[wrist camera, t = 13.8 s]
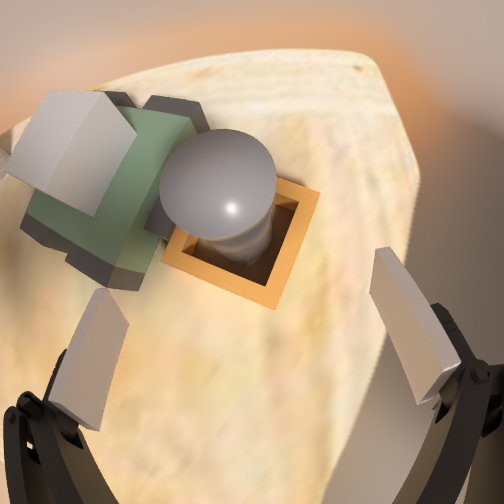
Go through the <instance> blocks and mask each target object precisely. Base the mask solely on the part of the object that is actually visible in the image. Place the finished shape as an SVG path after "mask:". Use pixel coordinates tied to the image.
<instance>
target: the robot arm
mask: <svg viewBox="0 0 504 504" xmlns="http://www.w3.org/2000/svg"><path fill="white" fill-rule="evenodd" d="M369 293H370V295H371V297H372V299H373V301H374V303H375V305H376V307H377V309H378V311H379V314H380V316H381V318H382V320H383V322H384V324H385V327H386V329H387V331H388V333H389V335H390V337H391V340H392V342H393V345H394V347H395V349H396V352H397V354H398V356H399V358H400V361H401V363H402V366H403V368H404V371H405V373H406V376H407V378H408V381H409V383H410V386H411V389H412V391H413V394H414V397H415V399H416V402H417V405H418V404H421V403H423V402H426V401H428V400H430V399H433V398H434V397H435V396H436V394H437V393H438V392H439V394H440V396H441V398H440V399H439V400H438V402H437V403H436V404H435V405H434V407H433V408H432V409H433V410H435V408H436V407H437V409H436V412H435V414H434V417H433V420H432V423H431V425H430V428H429V431H428V433H427V435H426V438H425V440H424V443H423V445H422V448H421V450H420V452H419V454H418V456H417V459H416V461H415V463H414V465H413V467H412V469H411V471H410V473H409V475H408V477H407V478H406V480H405V482H404V484H403V486H402V488H401V490H400V491H399V493H398V495H397V496H396V498H395V500H394V502H393V503H392V504H455V502H456V500H457V498H458V496H459V493H460V491H461V489H462V486H463V484H464V482H465V479H466V477H467V474H468V472H469V469H470V466H471V472H470V477H469V482H468V487H467V491H466V496H465V500H464V504H504V364H500V365H488V364H487V363H486V362H484V361H483V360H478V359H476V357H475V356H474V354H473V353H472V351H471V349H470V347H469V345H468V343H467V342H466V340H465V338H464V336H463V335H462V333H461V331H460V330H459V329H458V326H457V325H456V323H455V322H454V321H453V318H452V317H451V315H450V313H449V312H448V310H447V309H445V308H444V307H443V306H442V305H441V304H439V303H436V304H433V305H429V304H428V302H427V300H426V299H425V297H424V296H423V294H422V293H421V291H420V289H419V288H418V286H417V285H416V283H415V282H414V280H413V279H412V277H411V276H410V274H409V273H408V272H407V270H406V269H405V267H404V266H403V264H402V263H401V261H400V260H399V259H398V257H397V256H396V254H395V253H394V252H393V250H392V249H391V248H390V247H384V248H378V249H376V250H375V258H374V265H373V272H372V279H371V286H370V292H369ZM128 326H129V323H128V322H127V320H126V319H125V317H124V315H123V314H122V312H121V311H120V309H119V307H118V306H117V304H116V302H115V301H114V299H113V297H112V296H111V294H110V292H109V290H108V289H107V288H101V289H96V290H95V292H94V293H93V295H92V297H91V299H90V301H89V303H88V305H87V307H86V309H85V311H84V313H83V315H82V318H81V320H80V322H79V324H78V326H77V328H76V330H75V333H74V335H73V337H72V339H71V342H70V344H69V346H68V349H65V350H64V351H63V352H62V354H61V355H60V356H59V358H58V361H57V363H56V365H55V366H56V368H54V370H53V375H52V376H51V378H50V381H49V384H48V386H47V389H46V392H45V395H44V398H43V400H42V401H41V400H40V399H39V398H37V397H36V396H35V395H34V394H33V393H31V392H30V391H26V392H24V393H22V394H21V395H20V397H19V398H18V400H17V404H16V407H15V406H11V407H9V408H8V409H7V410H6V412H5V414H4V419H3V440H4V460H5V471H6V479H7V487H8V493H9V498H10V504H119V503H118V501H117V500H116V498H115V497H114V495H113V493H112V492H111V490H110V488H109V486H108V485H107V483H106V481H105V479H104V478H103V476H102V474H101V472H100V470H99V468H98V466H97V464H96V462H95V460H94V458H93V456H92V454H91V452H90V450H89V448H88V445H87V443H86V441H85V439H84V436H83V434H82V432H81V430H80V429H79V428H78V426H79V424H80V425H82V426H83V427H85V428H86V429H89V430H94V431H99V430H100V425H101V421H102V417H103V412H104V408H105V404H106V400H107V396H108V392H109V389H110V385H111V381H112V378H113V374H114V371H115V367H116V364H117V360H118V357H119V354H120V351H121V347H122V344H123V341H124V338H125V335H126V332H127V329H128ZM27 442H29V443H30V444H32V445H33V447H32V449H30V448H28V447H27ZM471 464H472V465H471Z"/></svg>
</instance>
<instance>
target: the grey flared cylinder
mask: <svg viewBox="0 0 504 504" xmlns="http://www.w3.org/2000/svg"><path fill="white" fill-rule="evenodd" d="M159 192H160V199H161V203H162V206H163V208H164V210H165V212H166V214H167V215H168V217H169V218H170V219H171V220H172V221H173V222H174V223H175V224H176V225H177V226H178V227H180V228H181V229H182V230H183V231H185V232H186V233H188V234H190V235H192V236H194V237H196V238H199V239H203V240H206V241H207V242H208V243H209V244H210V245H211V246H213V247H214V248H215V249H216V250H217V251H218V252H219V253H221V254H222V255H223V256H224V257H225V258H227V259H228V260H230V261H232V262H235V263H240V264H245V263H251V262H254V261H256V260H258V259H259V258H261V257H262V256H263V255H264V254H265V253H266V252H267V250H268V249H269V247H270V245H271V241H272V221H271V206H272V204H273V201H274V198H275V193H276V169H275V165H274V161H273V159H272V157H271V155H270V153H269V152H268V150H267V149H266V148H265V146H264V145H263V144H262V143H261V142H259V141H258V140H257V139H255V138H254V137H252V136H250V135H248V134H246V133H243V132H240V131H236V130H230V129H217V130H211V131H207V132H203V133H201V134H198V135H196V136H194V137H192V138H190V139H189V140H187V141H185V142H184V143H183V144H182V145H180V146H179V147H178V148H177V149H176V150H175V151H174V152H173V154H172V155H171V156H170V158H169V159H168V161H167V162H166V164H165V166H164V169H163V171H162V174H161V178H160V186H159Z"/></svg>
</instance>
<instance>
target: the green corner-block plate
mask: <svg viewBox="0 0 504 504" xmlns="http://www.w3.org/2000/svg"><path fill="white" fill-rule="evenodd" d="M207 131H210V128H209V126H208V123H207V120H206V118H205V115H204V113H203V110H202V108H201V105H200V103H199V102H195V101H189V100H183V99H177V98H170V97H163V96H155V95H151V97H150V98H149V100H148V101H147V102H146V104H145V105H144V107H143V108H142V109H138V108H136V106H135V105H134V104H133V102H132V101H131V99H130V98H129V97H128V95H127V94H126V92H111V91H50V92H49V94H48V95H47V96H46V98H45V99H44V100H43V102H42V103H41V105H40V106H39V108H38V109H37V111H36V112H35V114H34V115H33V117H32V119H31V120H30V122H29V123H28V125H27V127H26V128H25V130H24V132H23V134H22V135H21V137H20V139H19V141H18V142H17V144H16V146H15V148H14V150H13V152H12V154H11V156H10V158H9V160H8V162H7V164H6V166H5V168H4V170H3V171H5V172H7V173H8V174H10V175H12V176H14V177H16V178H17V179H19V180H21V181H23V182H25V183H27V184H28V185H30V186H32V187H34V188H36V189H35V191H34V194H33V196H32V198H31V201H30V203H29V205H28V208H27V210H26V213H25V215H24V218H23V221H22V223H21V226H20V229H22V230H23V231H24V232H25V233H27V234H28V235H29V236H31V237H32V238H33V239H35V240H36V241H37V242H39V243H40V244H41V245H43V246H45V247H48V248H52V249H55V250H58V251H62V252H66V253H67V256H66V259H65V262H67V263H68V264H70V265H71V266H73V267H74V268H76V269H77V270H79V271H81V272H82V273H84V274H85V275H87V276H88V277H90V278H91V279H93V280H95V281H96V282H98V283H99V284H101V285H103V286H104V287H106V288H112V289H121V290H130V291H139V288H140V285H141V283H142V280H143V278H144V275H145V273H146V270H147V268H148V265H149V263H150V261H151V258H152V256H153V254H154V251H155V249H156V247H157V244H158V242H159V240H160V238H161V239H163V240H165V241H168V242H169V243H168V245H167V247H166V250H165V252H164V254H163V257H162V259H161V261H162V262H164V263H166V264H168V265H171V266H173V267H175V268H177V269H179V270H182V271H184V272H186V273H188V274H190V275H193V276H195V277H197V278H199V279H202V280H204V281H206V282H209V283H211V284H213V285H215V286H218V287H220V288H222V289H225V290H227V291H229V292H232V293H234V294H236V295H239V296H241V297H244V298H246V299H248V300H251V301H253V302H256V303H258V304H261V305H263V306H265V307H268V308H270V309H273V310H276V307H277V305H278V303H279V300H280V298H281V295H282V293H283V290H284V288H285V285H286V283H287V280H288V278H289V275H290V273H291V270H292V268H293V265H294V263H295V260H296V257H297V255H298V252H299V250H300V247H301V244H302V242H303V239H304V237H305V234H306V231H307V229H308V226H309V223H310V220H311V218H312V215H313V212H314V210H315V207H316V204H317V201H318V198H319V196H320V193H319V192H317V191H314V190H311V189H309V188H306V187H303V186H301V185H298V184H295V183H292V182H290V181H287V180H284V179H281V178H278V177H276V193H275V198H274V201H273V203H274V204H277V205H280V206H282V207H285V208H288V209H290V210H293V211H295V214H294V217H293V219H292V222H291V224H290V227H289V229H288V232H287V234H286V237H285V239H284V242H283V244H282V247H281V249H280V252H279V254H278V257H277V259H276V262H275V264H274V267H273V269H272V272H271V274H270V277H269V279H268V282H267V284H266V286H265V287H264V286H262V285H259V284H257V283H254V282H252V281H250V280H247V279H245V278H242V277H240V276H237V275H235V274H233V273H230V272H228V271H225V270H223V269H221V268H218V267H216V266H213V265H211V264H209V263H206V262H204V261H202V260H199V259H197V258H195V257H192V254H193V251H194V249H195V247H196V244H197V242H198V240H199V238H196V237H194V236H192V235H190V234H188V233H186V232H185V231H183V230H182V229H181V228H180V227H178V226H177V225H176V224H175V223H174V222H173V221H172V220H171V219H170V218H169V217H168V215H167V214H166V212H165V210H164V208H163V206H162V203H161V199H160V192H159V186H160V178H161V174H162V171H163V169H164V166H165V164H166V162H167V161H168V159H169V158H170V156H171V155H172V154H173V152H174V151H175V150H176V149H177V148H178V147H179V146H180V145H182V144H183V143H184V142H185V141H187V140H189V139H190V138H192V137H194V136H196V135H198V134H201V133H203V132H207Z"/></svg>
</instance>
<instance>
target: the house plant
mask: <svg viewBox="0 0 504 504" xmlns="http://www.w3.org/2000/svg"><path fill="white" fill-rule="evenodd" d="M9 158H10V155H9V154H8V153H7V152H6V151H5V150H4V149H3V148H2V147H1V146H0V179H2V178H3V177H4V175H5V174H6V172H5V171H3V170H4V168H5V166H6V164H7V162H8V160H9Z"/></svg>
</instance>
